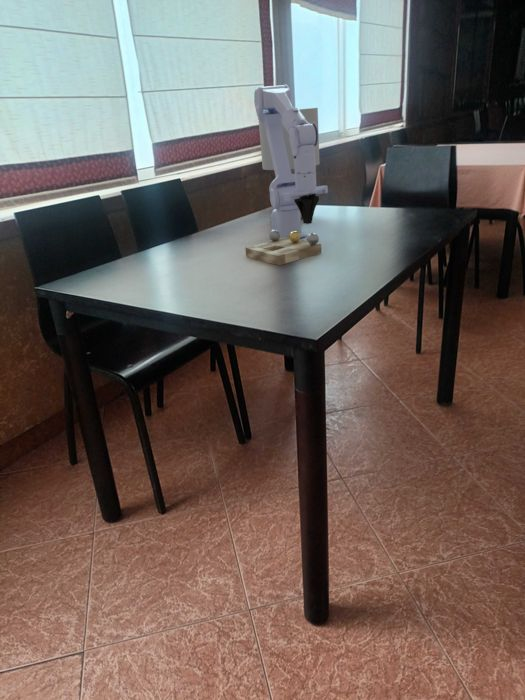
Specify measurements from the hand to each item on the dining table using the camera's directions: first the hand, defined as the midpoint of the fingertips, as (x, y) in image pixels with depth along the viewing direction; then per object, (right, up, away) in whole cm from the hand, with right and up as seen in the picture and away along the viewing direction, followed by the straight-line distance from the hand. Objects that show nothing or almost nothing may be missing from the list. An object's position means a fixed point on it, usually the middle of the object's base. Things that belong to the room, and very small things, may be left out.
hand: (307, 223), depth 139 cm
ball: (-4, -4, -1) cm, 6 cm away
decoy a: (-9, -3, +3) cm, 10 cm away
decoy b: (+1, -6, -6) cm, 8 cm away
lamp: (-1, +13, +44) cm, 46 cm away
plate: (-7, -9, -2) cm, 12 cm away
